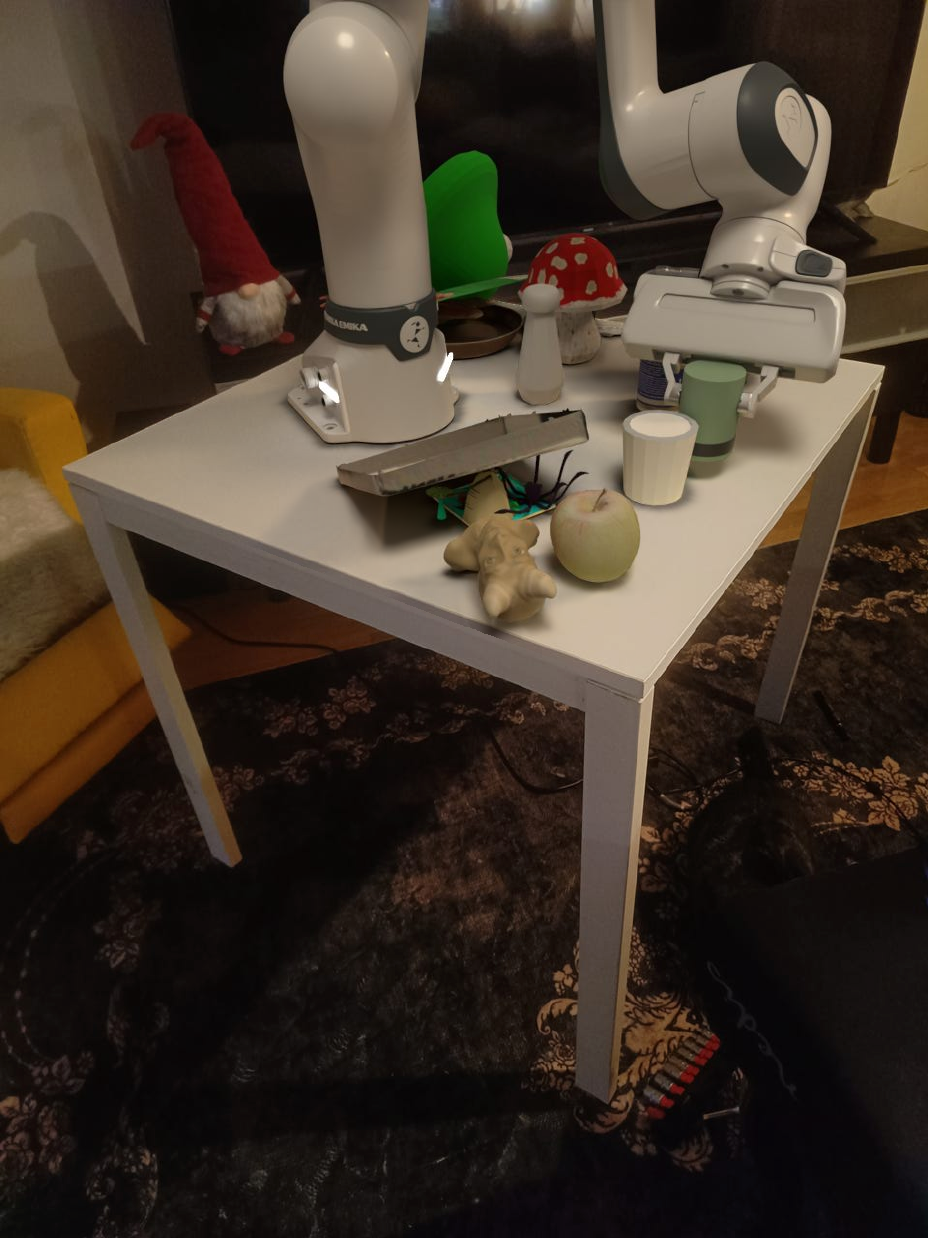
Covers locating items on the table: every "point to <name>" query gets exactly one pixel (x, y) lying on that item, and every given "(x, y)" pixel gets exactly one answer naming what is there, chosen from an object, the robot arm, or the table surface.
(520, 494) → the diorama
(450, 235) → the toy
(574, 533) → the fruit
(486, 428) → the decorative tile
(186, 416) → the table surface
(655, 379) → the pill bottle
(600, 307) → the decorative mushroom
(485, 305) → the stone tool
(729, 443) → the green cylinder
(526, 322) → the salt shaker
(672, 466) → the white cup
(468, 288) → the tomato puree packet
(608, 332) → the pocket knife
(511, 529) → the beige knobby lump
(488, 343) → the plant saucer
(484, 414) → the table surface
